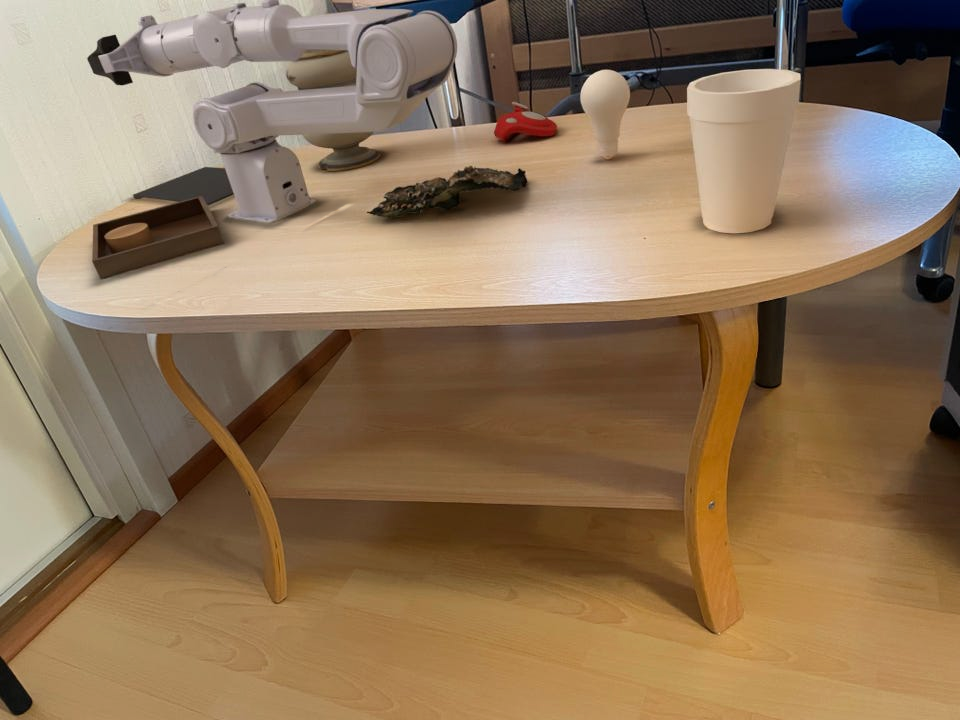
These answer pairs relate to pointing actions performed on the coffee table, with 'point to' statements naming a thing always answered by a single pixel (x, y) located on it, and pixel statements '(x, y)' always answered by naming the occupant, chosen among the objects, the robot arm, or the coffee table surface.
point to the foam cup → (741, 144)
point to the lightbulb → (605, 108)
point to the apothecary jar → (328, 73)
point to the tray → (158, 236)
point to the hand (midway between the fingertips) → (117, 59)
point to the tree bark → (445, 191)
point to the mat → (192, 187)
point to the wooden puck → (128, 237)
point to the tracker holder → (523, 123)
